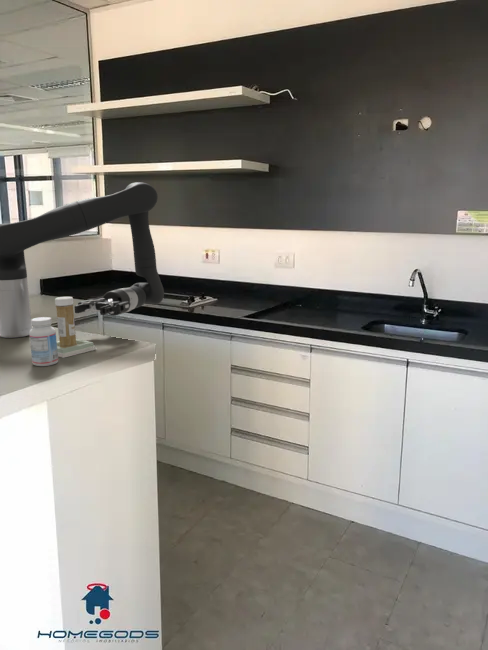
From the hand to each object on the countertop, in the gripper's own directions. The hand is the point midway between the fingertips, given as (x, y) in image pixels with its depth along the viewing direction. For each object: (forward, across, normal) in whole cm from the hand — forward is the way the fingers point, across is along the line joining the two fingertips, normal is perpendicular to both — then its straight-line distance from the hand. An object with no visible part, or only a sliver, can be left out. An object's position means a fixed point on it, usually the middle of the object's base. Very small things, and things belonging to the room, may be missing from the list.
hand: (88, 310), depth 154 cm
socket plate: (+10, 0, +9) cm, 13 cm away
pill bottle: (+22, +2, +9) cm, 24 cm away
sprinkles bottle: (+10, 0, +8) cm, 13 cm away
